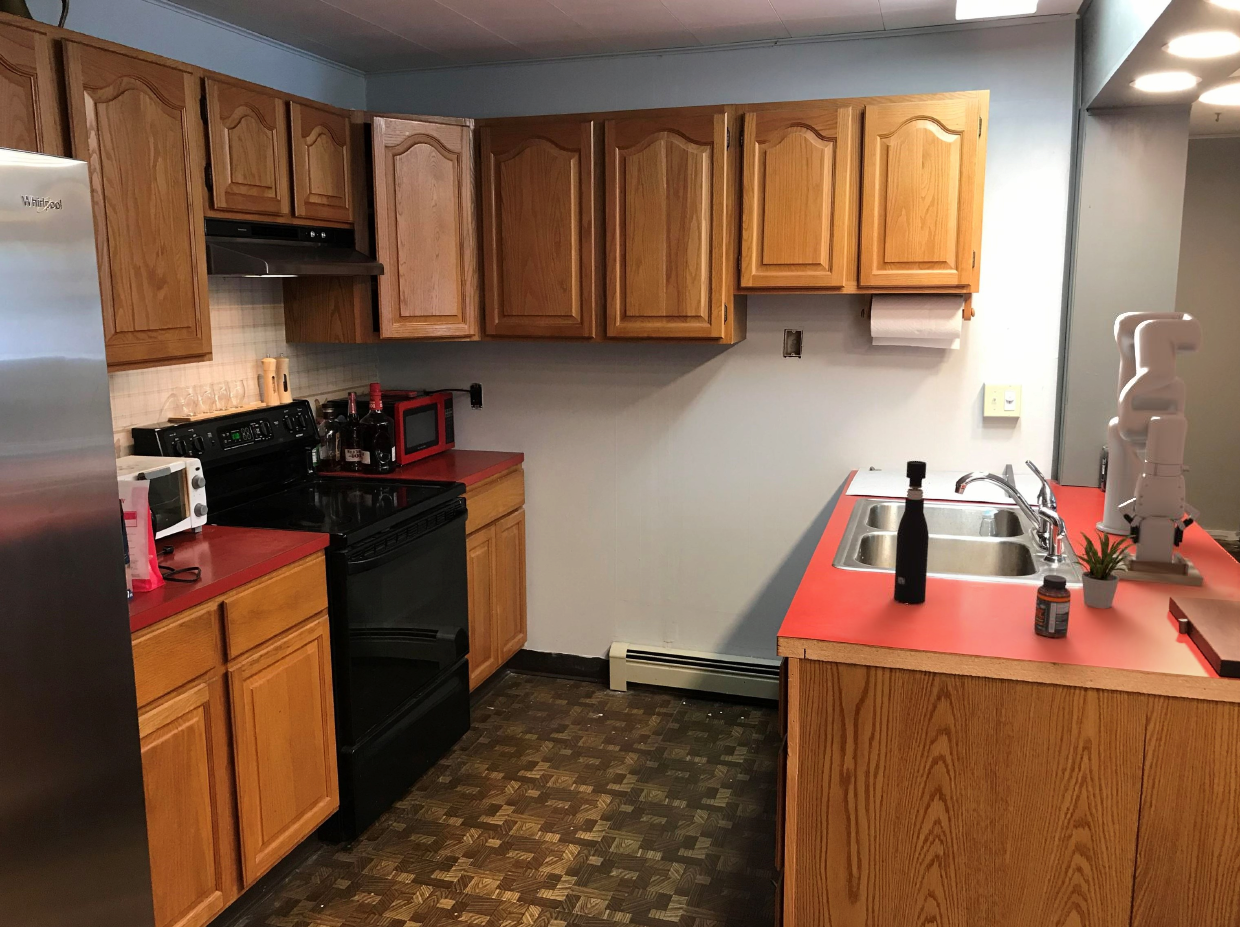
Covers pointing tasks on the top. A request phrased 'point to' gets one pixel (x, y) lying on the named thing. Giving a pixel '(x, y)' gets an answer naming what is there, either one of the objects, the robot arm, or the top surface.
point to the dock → (1159, 570)
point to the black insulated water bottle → (912, 541)
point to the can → (1155, 539)
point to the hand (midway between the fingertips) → (1155, 543)
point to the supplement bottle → (1052, 607)
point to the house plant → (1101, 571)
